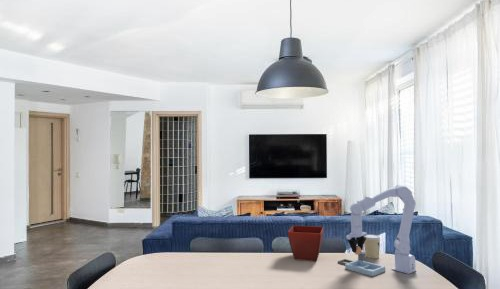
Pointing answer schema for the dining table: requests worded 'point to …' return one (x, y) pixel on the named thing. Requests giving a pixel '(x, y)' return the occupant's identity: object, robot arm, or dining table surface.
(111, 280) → the dining table surface
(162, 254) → the dining table surface
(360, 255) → the shaker
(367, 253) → the coffee cup
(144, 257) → the dining table surface
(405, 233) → the robot arm
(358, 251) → the ball
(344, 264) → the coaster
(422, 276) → the dining table surface
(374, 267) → the tray
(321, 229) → the plant pot
